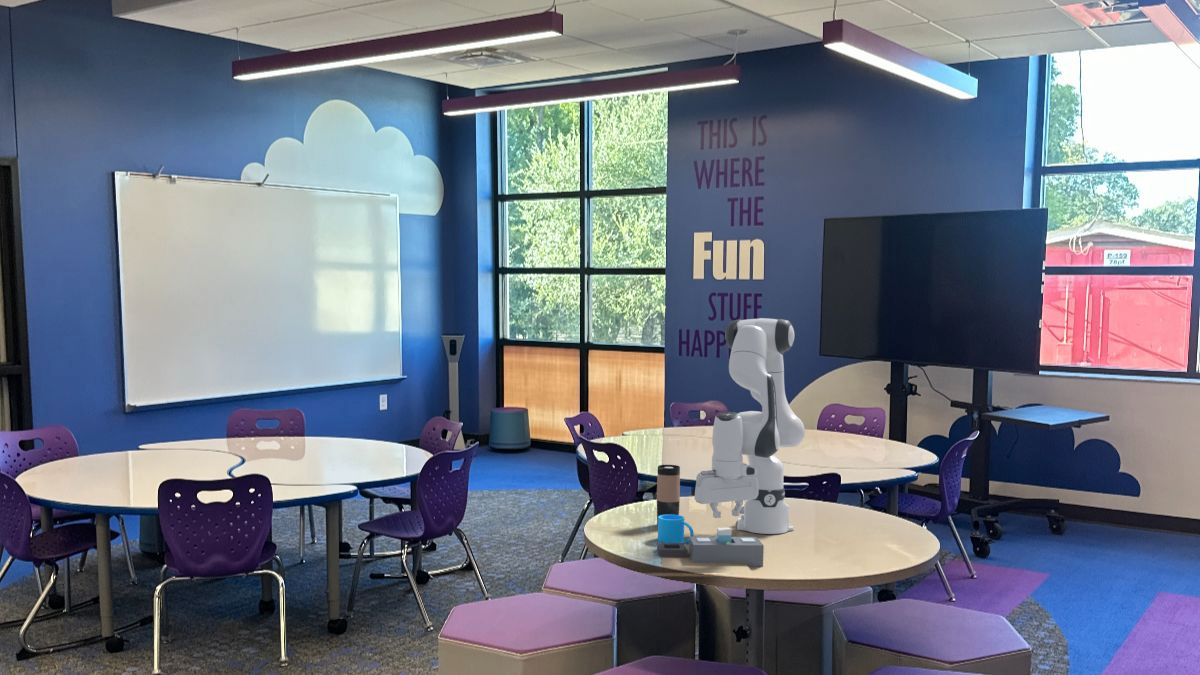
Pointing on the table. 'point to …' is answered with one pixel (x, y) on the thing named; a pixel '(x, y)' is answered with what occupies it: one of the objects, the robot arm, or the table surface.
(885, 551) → the table surface
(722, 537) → the plug
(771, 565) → the table surface
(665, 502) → the travel mug
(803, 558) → the table surface
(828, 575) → the table surface
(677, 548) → the holster
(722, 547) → the panel
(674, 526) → the mug
